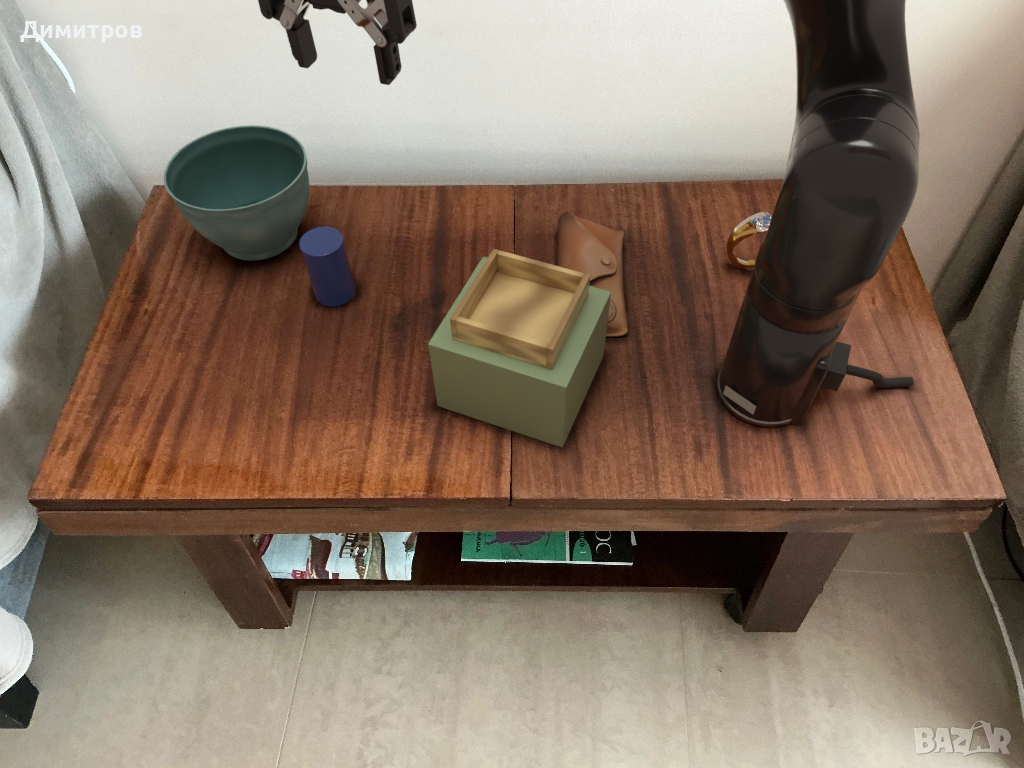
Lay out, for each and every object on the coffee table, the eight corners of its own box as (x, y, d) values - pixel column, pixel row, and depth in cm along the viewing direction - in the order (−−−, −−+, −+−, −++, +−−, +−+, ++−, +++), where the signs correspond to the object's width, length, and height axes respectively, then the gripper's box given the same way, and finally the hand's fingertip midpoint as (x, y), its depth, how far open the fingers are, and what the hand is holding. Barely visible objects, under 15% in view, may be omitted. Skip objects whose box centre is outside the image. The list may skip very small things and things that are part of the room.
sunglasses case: (633, 335, 86) (606, 298, 82) (577, 355, 89) (548, 320, 85) (624, 227, 97) (600, 190, 93) (574, 248, 100) (549, 213, 96)
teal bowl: (242, 184, 105) (216, 113, 96) (348, 211, 101) (331, 139, 92) (169, 262, 95) (133, 191, 87) (282, 295, 92) (257, 224, 83)
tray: (588, 296, 77) (590, 274, 75) (552, 370, 71) (553, 349, 69) (494, 269, 80) (493, 248, 77) (452, 339, 74) (449, 318, 72)
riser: (603, 355, 85) (611, 291, 77) (562, 448, 78) (566, 387, 70) (486, 320, 89) (483, 256, 81) (437, 406, 81) (427, 344, 74)
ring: (721, 276, 92) (736, 224, 86) (719, 258, 94) (733, 206, 88) (781, 279, 92) (800, 227, 86) (777, 260, 94) (795, 208, 88)
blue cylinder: (362, 283, 93) (350, 232, 86) (342, 311, 90) (328, 260, 84) (328, 273, 94) (313, 222, 88) (307, 300, 91) (290, 249, 85)
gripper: (199, -120, 58) (261, 79, 71) (364, -98, 55) (398, 108, 68) (255, -155, 63) (304, 39, 75) (412, -136, 59) (436, 64, 72)
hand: (348, 72), depth 71 cm, fingers open, 8 cm apart
